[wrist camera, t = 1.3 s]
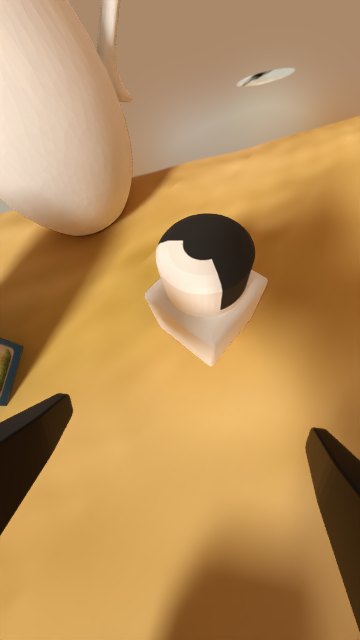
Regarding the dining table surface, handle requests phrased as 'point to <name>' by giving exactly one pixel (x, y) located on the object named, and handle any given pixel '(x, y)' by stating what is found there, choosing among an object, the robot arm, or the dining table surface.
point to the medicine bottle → (205, 283)
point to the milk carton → (8, 367)
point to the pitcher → (62, 117)
